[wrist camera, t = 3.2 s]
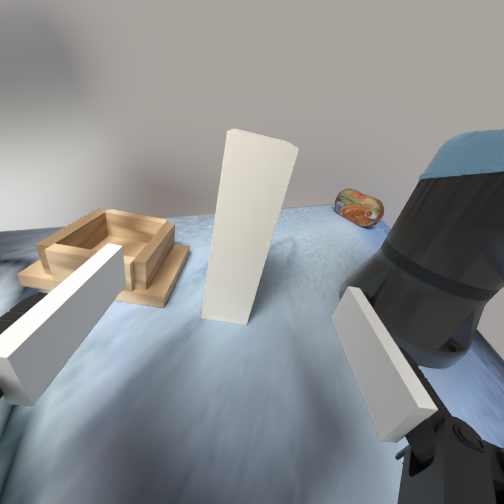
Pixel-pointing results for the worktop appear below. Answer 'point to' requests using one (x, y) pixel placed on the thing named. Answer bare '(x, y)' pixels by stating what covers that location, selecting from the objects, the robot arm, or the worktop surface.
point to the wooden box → (134, 249)
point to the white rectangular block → (245, 221)
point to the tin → (359, 207)
